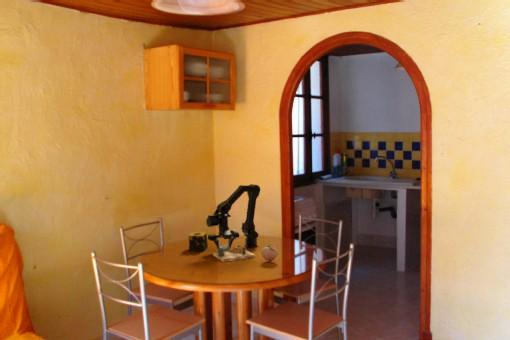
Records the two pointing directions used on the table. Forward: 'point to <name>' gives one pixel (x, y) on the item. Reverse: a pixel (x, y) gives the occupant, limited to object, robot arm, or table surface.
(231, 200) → the robot arm
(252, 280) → the table surface
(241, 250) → the gear
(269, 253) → the decorative fruit
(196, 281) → the table surface
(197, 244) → the tissue box
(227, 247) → the gear
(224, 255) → the gear board
